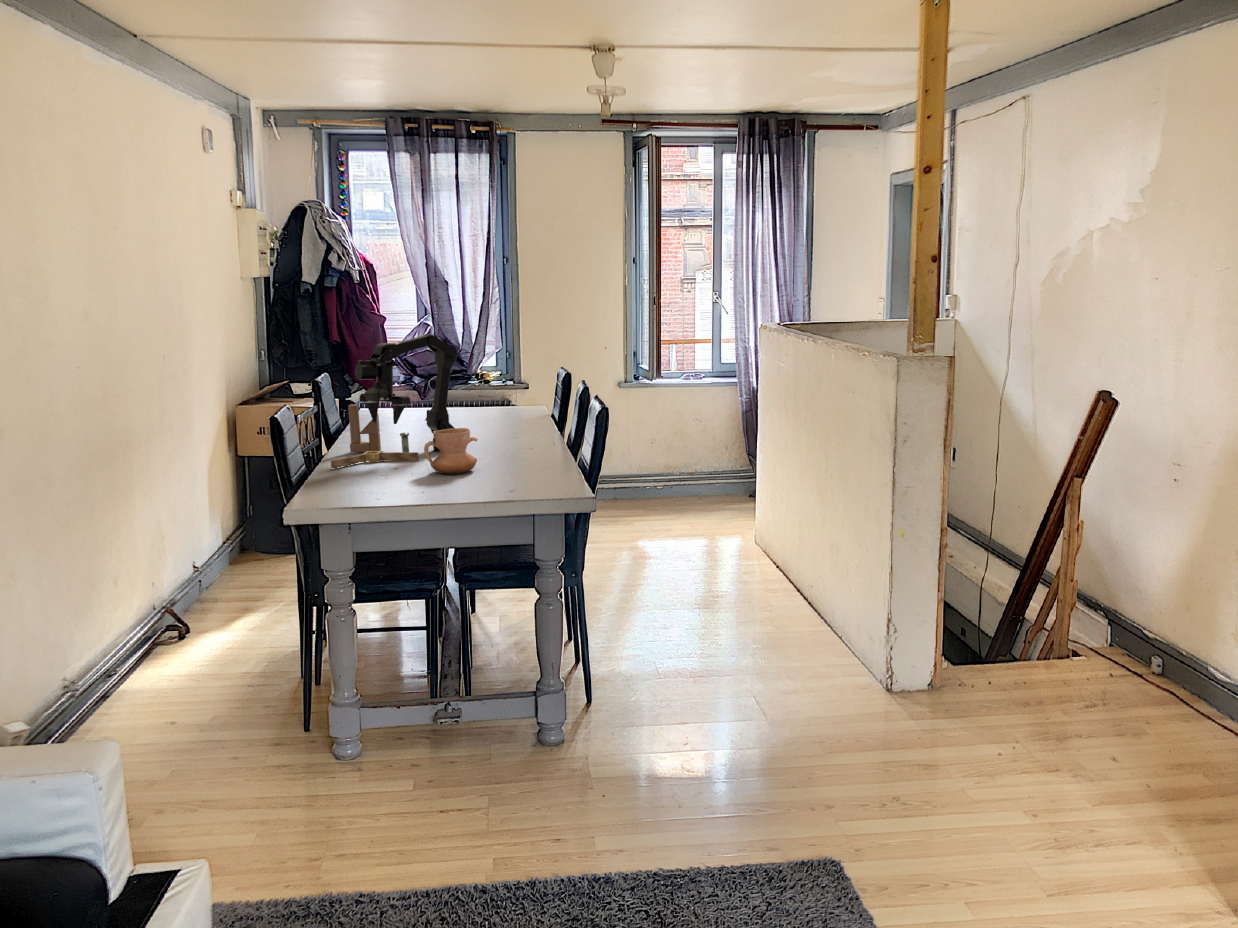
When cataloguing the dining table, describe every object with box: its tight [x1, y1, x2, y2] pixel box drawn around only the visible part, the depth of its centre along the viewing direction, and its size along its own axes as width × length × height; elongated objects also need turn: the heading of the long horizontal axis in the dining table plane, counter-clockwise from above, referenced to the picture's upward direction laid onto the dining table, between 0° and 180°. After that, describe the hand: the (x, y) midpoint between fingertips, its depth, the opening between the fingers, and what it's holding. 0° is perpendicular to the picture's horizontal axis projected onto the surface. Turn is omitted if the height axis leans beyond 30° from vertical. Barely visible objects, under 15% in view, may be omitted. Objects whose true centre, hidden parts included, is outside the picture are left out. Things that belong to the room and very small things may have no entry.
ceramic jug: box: [423, 427, 479, 475], centre depth 340 cm, size 18×14×14 cm
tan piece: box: [330, 450, 420, 468], centre depth 358 cm, size 26×18×3 cm
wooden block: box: [347, 403, 382, 453], centre depth 381 cm, size 4×11×18 cm, turn 92°
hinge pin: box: [399, 432, 410, 452], centre depth 369 cm, size 3×3×9 cm
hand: (384, 423), depth 365 cm, fingers open, 9 cm apart
